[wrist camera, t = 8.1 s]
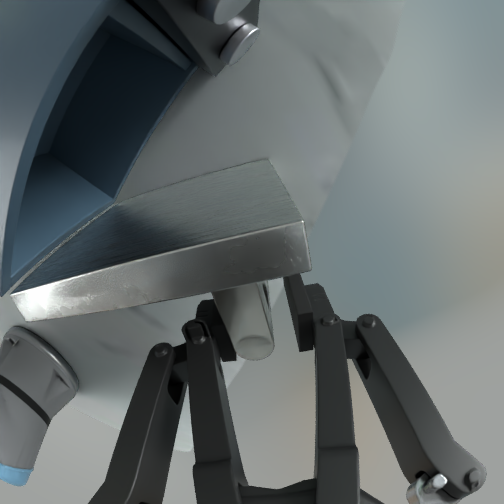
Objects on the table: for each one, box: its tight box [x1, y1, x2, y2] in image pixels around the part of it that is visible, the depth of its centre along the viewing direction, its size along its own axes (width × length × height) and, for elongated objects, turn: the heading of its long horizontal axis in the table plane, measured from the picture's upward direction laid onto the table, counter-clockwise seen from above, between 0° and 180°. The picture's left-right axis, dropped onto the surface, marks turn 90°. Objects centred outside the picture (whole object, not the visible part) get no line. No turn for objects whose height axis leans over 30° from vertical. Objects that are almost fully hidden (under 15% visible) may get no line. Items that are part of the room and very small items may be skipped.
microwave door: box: [10, 159, 312, 360], centre depth 16 cm, size 8×13×14 cm, turn 104°
